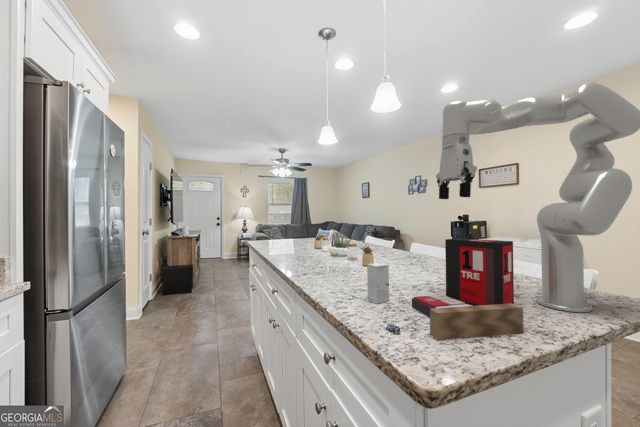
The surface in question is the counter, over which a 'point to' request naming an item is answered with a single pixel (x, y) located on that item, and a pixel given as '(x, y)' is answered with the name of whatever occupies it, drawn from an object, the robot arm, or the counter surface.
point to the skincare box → (378, 282)
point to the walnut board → (475, 321)
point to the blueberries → (393, 329)
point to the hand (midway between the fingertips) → (453, 198)
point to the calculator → (434, 303)
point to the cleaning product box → (479, 271)
